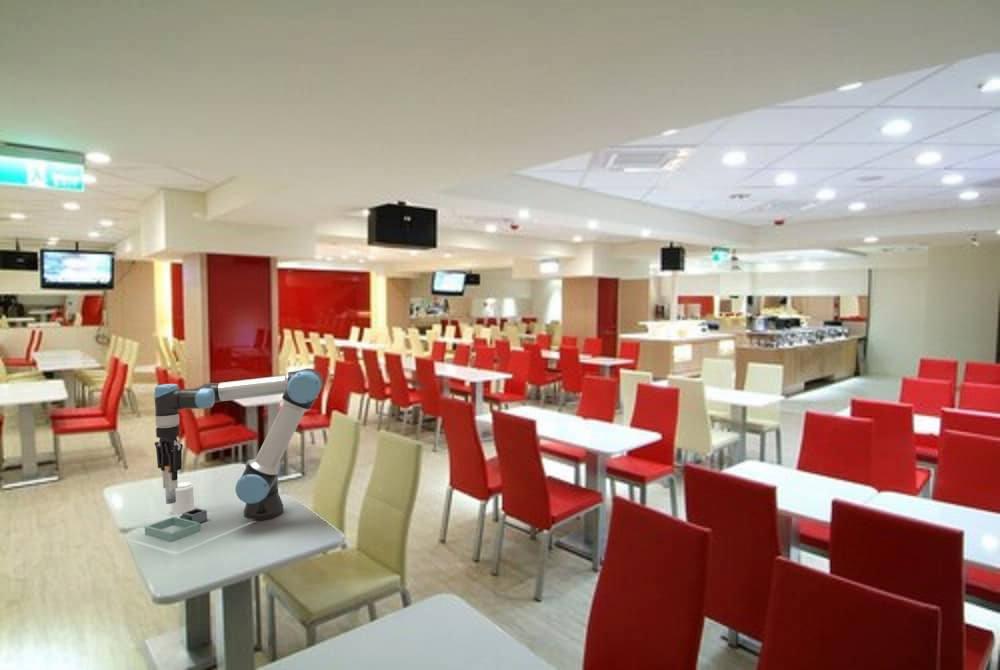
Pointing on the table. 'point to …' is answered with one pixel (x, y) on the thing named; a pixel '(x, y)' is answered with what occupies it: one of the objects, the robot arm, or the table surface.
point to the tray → (188, 529)
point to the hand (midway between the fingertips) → (170, 487)
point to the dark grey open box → (196, 515)
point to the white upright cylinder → (183, 498)
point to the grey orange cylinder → (169, 493)
